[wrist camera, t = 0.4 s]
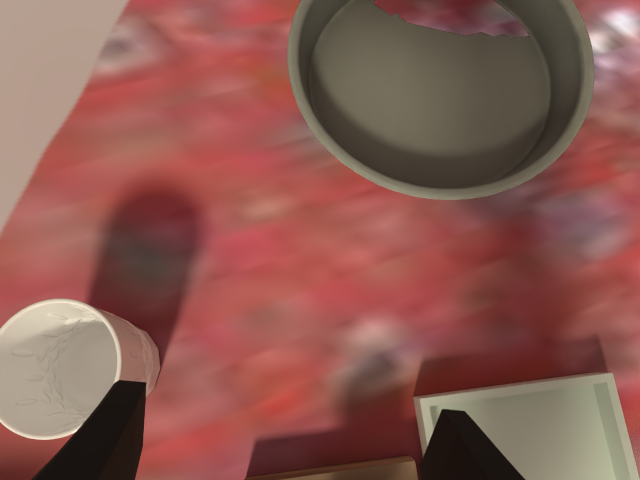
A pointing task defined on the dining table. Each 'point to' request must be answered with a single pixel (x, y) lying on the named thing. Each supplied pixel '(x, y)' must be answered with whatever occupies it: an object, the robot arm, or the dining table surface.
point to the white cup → (67, 365)
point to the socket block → (353, 471)
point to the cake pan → (441, 95)
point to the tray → (546, 425)
